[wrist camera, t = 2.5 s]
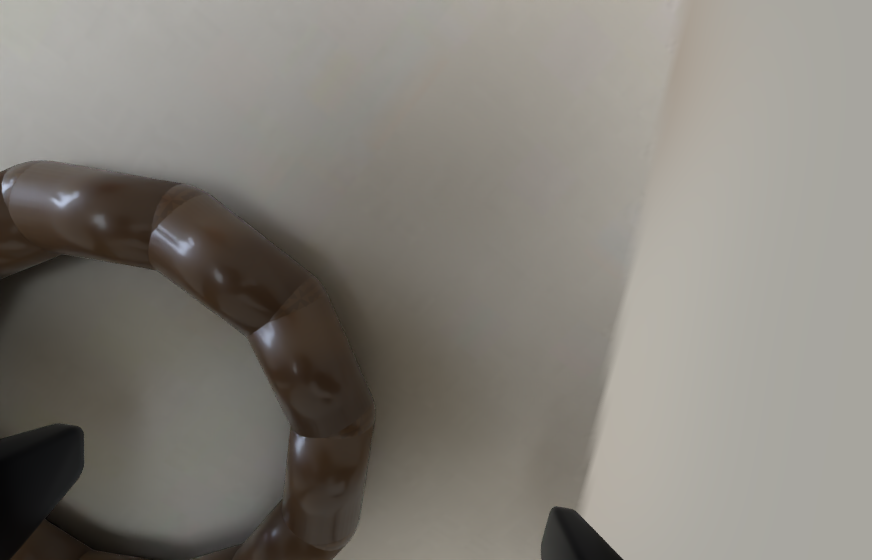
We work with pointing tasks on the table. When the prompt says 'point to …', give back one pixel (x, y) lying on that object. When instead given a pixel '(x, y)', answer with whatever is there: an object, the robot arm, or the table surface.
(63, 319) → the table surface
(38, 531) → the ring
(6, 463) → the robot arm
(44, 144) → the table surface
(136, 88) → the table surface
